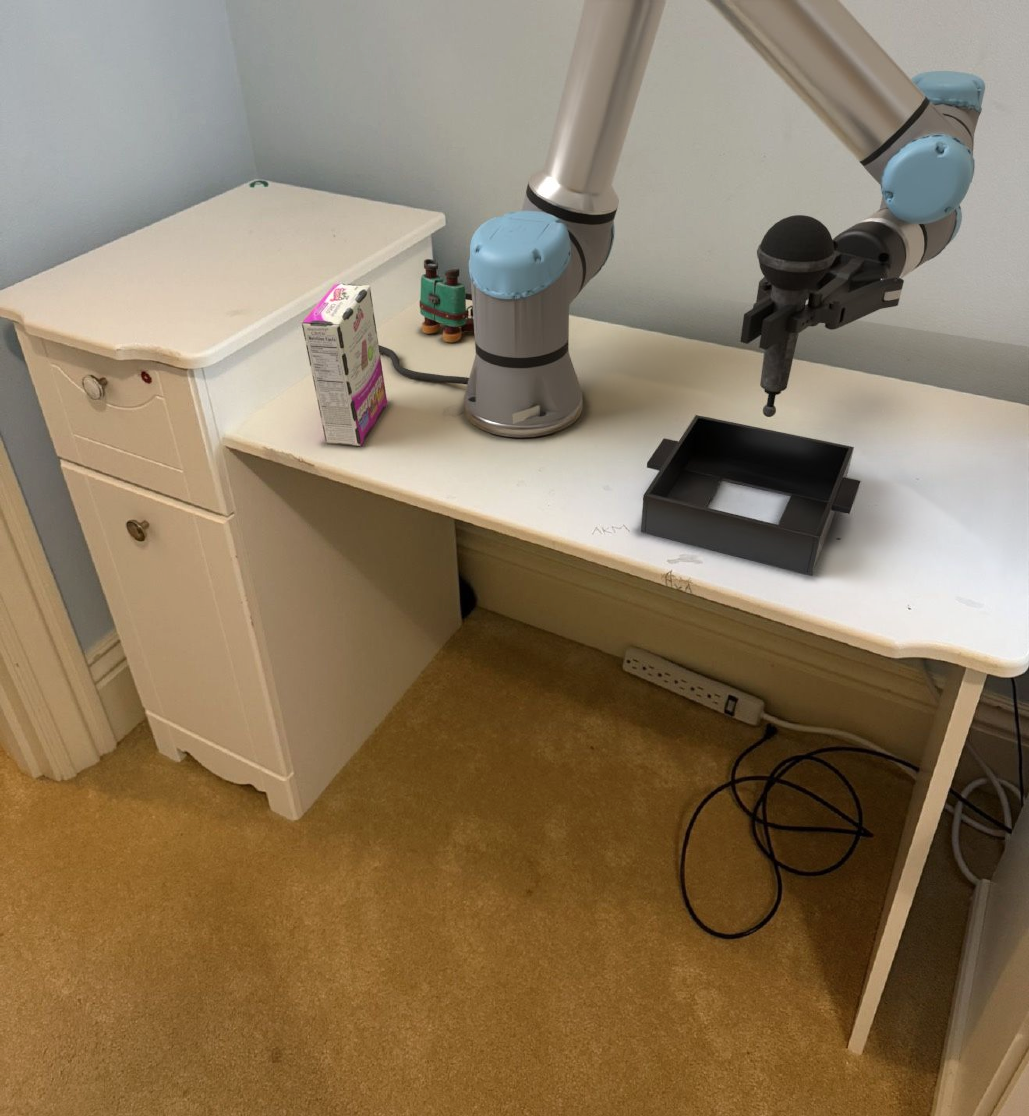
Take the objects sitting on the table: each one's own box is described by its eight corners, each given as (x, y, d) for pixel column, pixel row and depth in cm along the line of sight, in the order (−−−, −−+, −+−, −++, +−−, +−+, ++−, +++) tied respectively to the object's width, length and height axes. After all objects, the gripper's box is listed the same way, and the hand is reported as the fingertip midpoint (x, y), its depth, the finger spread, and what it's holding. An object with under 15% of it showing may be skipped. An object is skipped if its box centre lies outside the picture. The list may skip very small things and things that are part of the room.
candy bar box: (352, 401, 122) (333, 282, 112) (388, 404, 121) (372, 284, 111) (322, 445, 113) (299, 320, 103) (360, 448, 112) (340, 322, 102)
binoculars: (500, 261, 133) (450, 275, 127) (497, 331, 139) (450, 347, 133) (457, 247, 138) (407, 260, 132) (456, 315, 144) (409, 330, 138)
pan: (624, 527, 98) (626, 490, 95) (677, 446, 111) (681, 411, 108) (830, 580, 90) (839, 542, 87) (862, 486, 103) (871, 450, 100)
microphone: (757, 439, 90) (790, 235, 77) (721, 407, 95) (746, 210, 82) (817, 425, 91) (859, 223, 79) (778, 394, 96) (812, 200, 84)
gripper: (929, 308, 95) (820, 393, 81) (803, 275, 102) (685, 348, 89) (948, 235, 90) (836, 313, 77) (815, 206, 98) (692, 273, 84)
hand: (755, 331), depth 83 cm, fingers closed on microphone
